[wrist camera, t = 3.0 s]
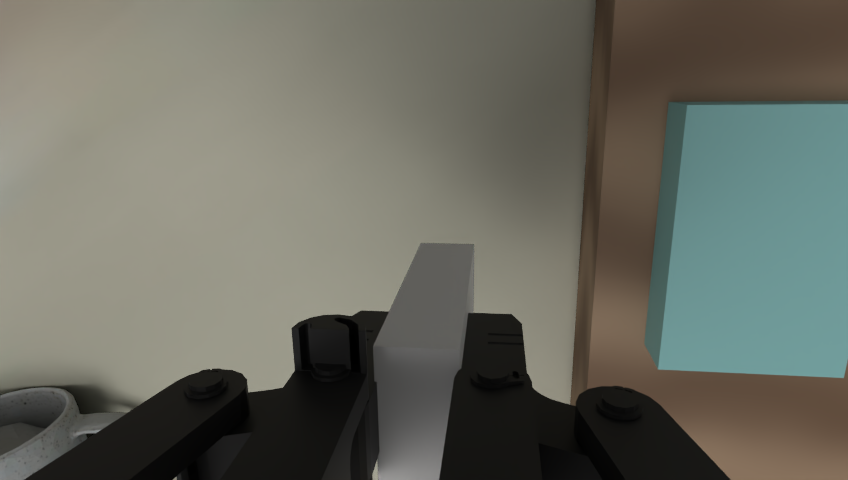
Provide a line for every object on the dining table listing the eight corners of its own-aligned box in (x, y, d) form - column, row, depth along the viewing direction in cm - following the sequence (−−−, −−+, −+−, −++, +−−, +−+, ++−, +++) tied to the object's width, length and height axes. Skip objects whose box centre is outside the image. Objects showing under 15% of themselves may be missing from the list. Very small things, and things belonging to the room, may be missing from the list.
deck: (601, -80, 22) (623, -112, 18) (1014, -99, 20) (1136, -139, 16) (568, 427, 28) (580, 483, 24) (884, 445, 26) (949, 509, 22)
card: (668, 101, 20) (687, 105, 18) (860, 100, 19) (901, 103, 17) (644, 343, 22) (658, 369, 20) (813, 350, 21) (843, 378, 19)
